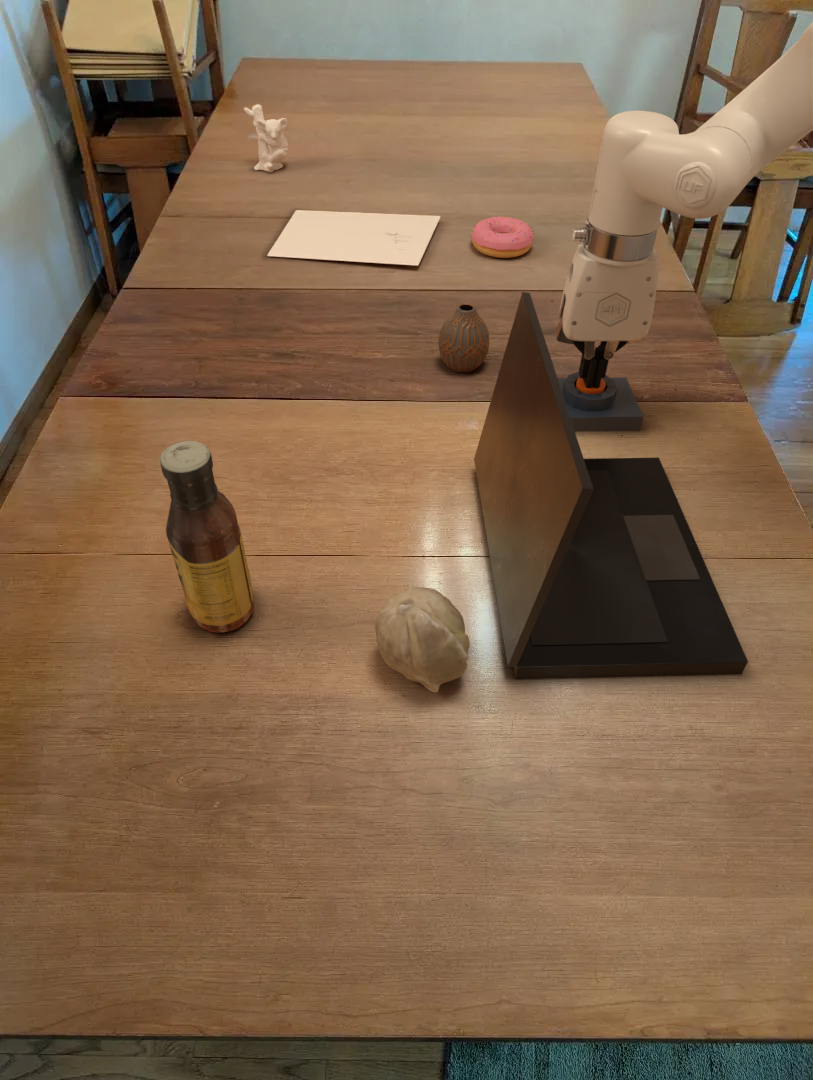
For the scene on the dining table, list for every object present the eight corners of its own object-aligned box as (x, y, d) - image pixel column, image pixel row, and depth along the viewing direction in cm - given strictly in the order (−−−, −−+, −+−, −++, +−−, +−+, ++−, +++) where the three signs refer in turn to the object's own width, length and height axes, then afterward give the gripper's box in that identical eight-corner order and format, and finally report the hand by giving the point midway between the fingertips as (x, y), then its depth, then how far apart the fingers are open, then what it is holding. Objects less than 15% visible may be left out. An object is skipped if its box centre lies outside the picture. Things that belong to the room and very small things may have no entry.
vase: (462, 347, 114) (465, 289, 108) (497, 366, 111) (503, 308, 105) (427, 363, 111) (429, 305, 105) (462, 384, 107) (466, 325, 101)
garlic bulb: (458, 706, 73) (488, 670, 64) (366, 702, 71) (385, 666, 63) (453, 611, 77) (481, 566, 69) (367, 606, 76) (384, 559, 67)
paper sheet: (413, 276, 130) (413, 270, 129) (252, 258, 136) (251, 252, 135) (449, 221, 146) (449, 215, 145) (303, 207, 152) (302, 201, 152)
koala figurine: (246, 172, 164) (238, 109, 155) (256, 161, 169) (249, 99, 160) (285, 176, 163) (280, 112, 154) (295, 164, 168) (290, 102, 159)
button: (599, 386, 103) (602, 374, 101) (606, 401, 100) (608, 390, 99) (572, 386, 102) (574, 374, 101) (577, 402, 100) (580, 390, 99)
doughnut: (488, 266, 134) (491, 241, 131) (459, 240, 141) (460, 217, 138) (544, 255, 137) (547, 231, 134) (512, 231, 144) (515, 208, 141)
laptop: (655, 469, 94) (659, 456, 93) (742, 673, 73) (748, 661, 71) (480, 471, 94) (481, 459, 92) (515, 679, 72) (517, 666, 71)
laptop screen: (530, 293, 78) (522, 291, 78) (595, 489, 57) (583, 487, 56) (481, 459, 92) (473, 459, 92) (517, 667, 71) (507, 666, 71)
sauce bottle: (205, 584, 80) (167, 422, 66) (264, 594, 79) (238, 432, 65) (179, 633, 75) (132, 470, 62) (241, 644, 74) (207, 481, 61)
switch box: (623, 391, 106) (629, 365, 104) (639, 431, 100) (646, 404, 97) (534, 392, 106) (538, 366, 103) (545, 432, 100) (549, 405, 97)
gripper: (558, 253, 84) (536, 399, 97) (696, 253, 85) (656, 398, 98) (546, 225, 90) (527, 366, 102) (676, 225, 90) (641, 365, 103)
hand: (590, 381), depth 100 cm, fingers closed
